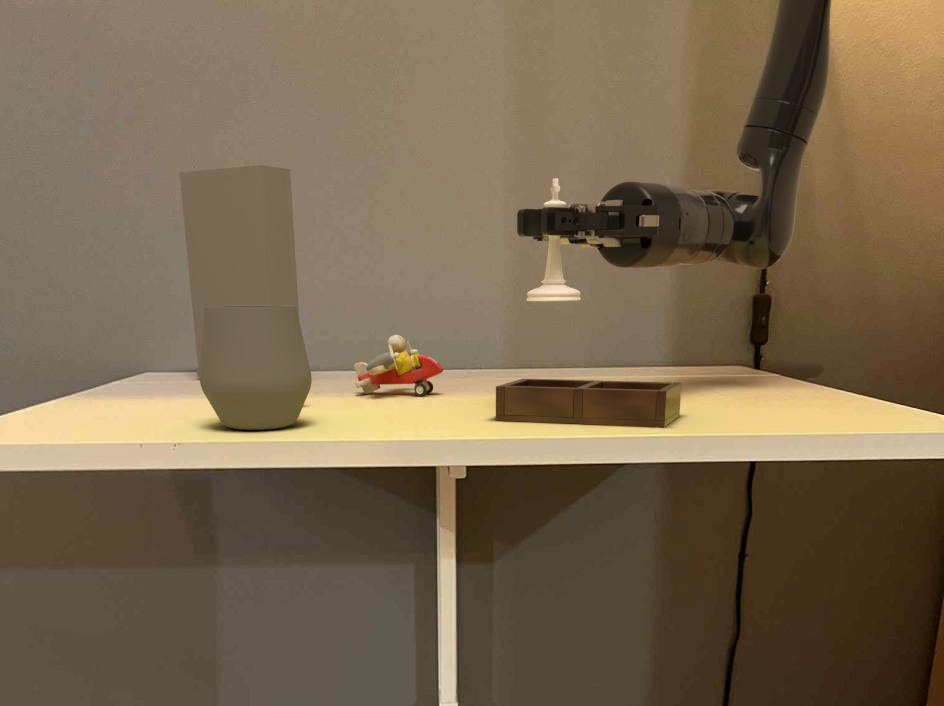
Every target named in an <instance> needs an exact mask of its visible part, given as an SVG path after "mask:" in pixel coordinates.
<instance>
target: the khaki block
mask: <svg viewBox="0 0 944 706" xmlns="http://www.w3.org/2000/svg"><path fill="white" fill-rule="evenodd" d="M291 182H292V180H291V169H290V168H284V167H278V166H271V165H263V164H262V165H261V164H260V165H259V164H258V165H248V166H237V167H236V166H235V167H227V168H225V167H223V168H214V169H202V170H192V171H181V172H180V171H179V184H180V194H181V203H182V214H183V215H182V216H183V226H184V234H185V245H186V246H185V247H186V257H187V267H188V277H189V286H190V287H189V288H190V297H191V299H190V300H191V307H192V317H193V328H194V339H195V340H194V341H195V348H196V349H195V350H196V351H195V352H196V360H197V367H196V376H197V378H200V366H201V351H202V337H203V322H204V308H205V307H206V306H238V305H294V306H296V309H297V313H298V318H299V319H300V309H299V295H298V294H299V293H298V277H297V261H296V260H297V259H296V246H295V245H296V244H295V228H294V215H293V214H294V213H293V198H292V183H291Z"/></svg>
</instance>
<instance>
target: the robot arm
mask: <svg viewBox="0 0 944 706" xmlns="http://www.w3.org/2000/svg"><path fill="white" fill-rule="evenodd" d="M831 7H832V0H778V1H777V5H776V11H775V14H774V15H775V17H774V20H773V24H772V25H773V26H772V29H771V30H772V31H771V35H770V40H769V44H768V48H767V52H766V55H765V59H764V62H763V65H762V69H761V72H760V75H759V79H758V82H757V85H756V87H755V91H754V93H753V96H752V99H751V102H750V105H749V108H748V111H747V114H746V117H745V120H744V123H743V126H742V128H741V132H740V135H739V137H738V141H737V144H736V148H735V157H736V159H737V161H738V162H739V163H740V164H741V165H742V166H743V167H745V168H747V169H749V170H751V171H753V172H755V173H758V174H760V178H761V179H760V180H761V189H760V190H761V191H760V193H759V195H758V194H757V195H756V194H751V193H746V192H742V191H741V192H740V191H736V190H735V191H734V190H728V189H706V190H701V189H691V188H689V189H688V188H684V187H681V186H678V185H673V184H664V183H663V184H662V183H654V182H653V183H652V182H641V181H623V182H621V183H618V184H615V185H614V186H613V187H611V188H610V189H609V190H608V191H607V192H605V194H604V195H603V196H602V198H601V199H600V201H586V202H583V203H566V204H567V205H566V208H561V207H544V206H543V207H542V208H520V209H519V210H518V211H517V214H516V228H517V229H516V232H517V235H518V237H520V238H522V237H523V238H532V240H533V241H536V242H544V241H545V242H549V236H544V235H550V236H560V245H563V246H581V248H583V249H597V250H598V252H599V254H600V255H601V257H602V258H603V259H604V261H606V262H607V263H608V264H610V265H612V266H614V267H616V268H624V269H625V268H627V269H629V268H630V269H631V268H633V269H637V268H667V267H673V266H677V265H679V266H680V265H681V266H682V265H701V264H706V263H710V262H712V261H714V260H715V261H720V262H723V263H724V262H725V263H729V264H734V265H739V266H742V267H746V268H749V269H750V268H751V269H754V270H767V269H769V268H771V267H773V266H774V265H776V264H777V263H779V261H780V260H781V259H782V258H783V257H784V255H785V254H786V252H787V251H788V249H789V248H790V245H791V243H792V240H793V236H794V232H795V226H796V216H797V205H798V203H797V202H798V196H799V188H800V181H801V173H802V166H803V162H804V158H805V154H806V151H807V149H808V146H809V143H810V140H811V137H812V136H813V132H814V130H815V127H816V124H817V121H818V118H819V116H820V113H821V111H822V107H823V104H824V101H825V98H826V97H825V96H826V92H827V88H828V82H829V75H830V74H829V72H830V61H831V60H830V56H831V54H830V53H831V52H830V51H831V28H830V27H831Z"/></svg>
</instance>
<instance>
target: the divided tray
mask: <svg viewBox="0 0 944 706" xmlns="http://www.w3.org/2000/svg"><path fill="white" fill-rule="evenodd" d="M681 400H682V382H677V381H675V382H672V381H638V380H637V381H636V380H635V381H633V380H629V381H628V380H597V379H596V380H595V379H593V380H592V379H558V378H557V379H556V378H555V379H554V378H553V379H552V378H548V379H547V378H521V379H517V380H514V381H513V380H512V381H510V382H507V383H502V384H499V385H496V386H495V421H502V422H526V423H550V424H551V423H553V424H571V425H572V424H574V425H575V424H576V425H577V424H578V425H597V426H598V425H600V426H601V425H602V426H621V427H622V426H624V427H626V426H627V427H646V428H647V427H650V428H665V427H667V426H668V425H669V424H671V423H672V422H673V421H674V420H677V418H679V417H680V415H681Z"/></svg>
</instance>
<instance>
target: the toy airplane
mask: <svg viewBox="0 0 944 706" xmlns="http://www.w3.org/2000/svg"><path fill="white" fill-rule="evenodd" d="M406 344H407V346H406ZM386 347H387V349H388V350H389V352H384V353H381V354H380V355H377V356H376V357H374V358H373V359H371V361H370V362H368V363H366V362H363V361H359V362H356V363H354V365H353V368H354V371H355V374H356V376H357V380H358V381H356V382H355V383H354V385H355V387H356V388H357V389H359V388H361V389H362V392H363V393H364V394H366V395H367V394H370V393H373V392H375V391H377V390H380V389H381V386H383V385H385V386H386V385H414V388H413V390H414V393H415V395H416V396H418V397H423V396H425V395H427V394H431V393H432V392H433V391H434V384H433V383H432V382H431V381H430V380H428V379H430V378H431V379H432V378H433V377H435V376H438V375H440V374H442V373H443V372H444V367H443V366H442V364H441V363H440V362H439V361H438V360H436V359H435V358H433V357H432V356H428V355H426V354H425V355H424V354H422V355H421V354H420V353H419V350H418V349H413V348H412V346H411V344H410V342H409V340H407V341H406V339H405V338H404V337H403V336H402V335H400V334H394V335H393V334H392V335H391V336H389V338H388V339H387V345H386ZM406 347H408V348H407V349H406Z"/></svg>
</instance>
